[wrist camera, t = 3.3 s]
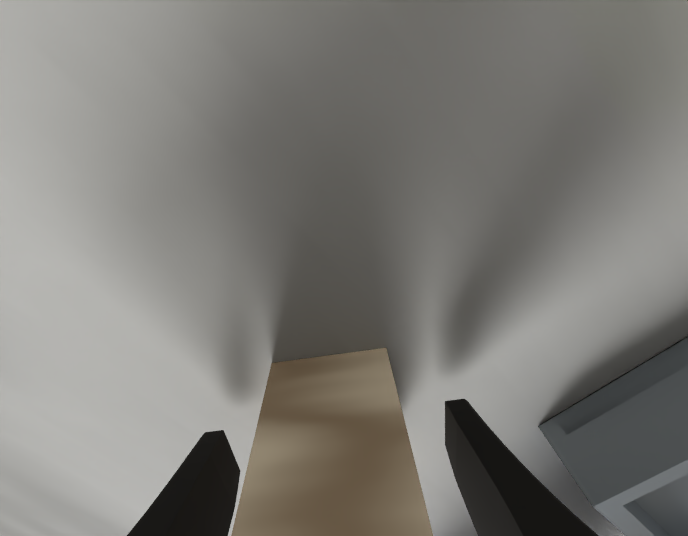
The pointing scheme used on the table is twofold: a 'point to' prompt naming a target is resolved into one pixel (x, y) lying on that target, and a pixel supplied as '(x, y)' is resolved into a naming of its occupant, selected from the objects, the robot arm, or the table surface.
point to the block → (332, 453)
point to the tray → (632, 446)
